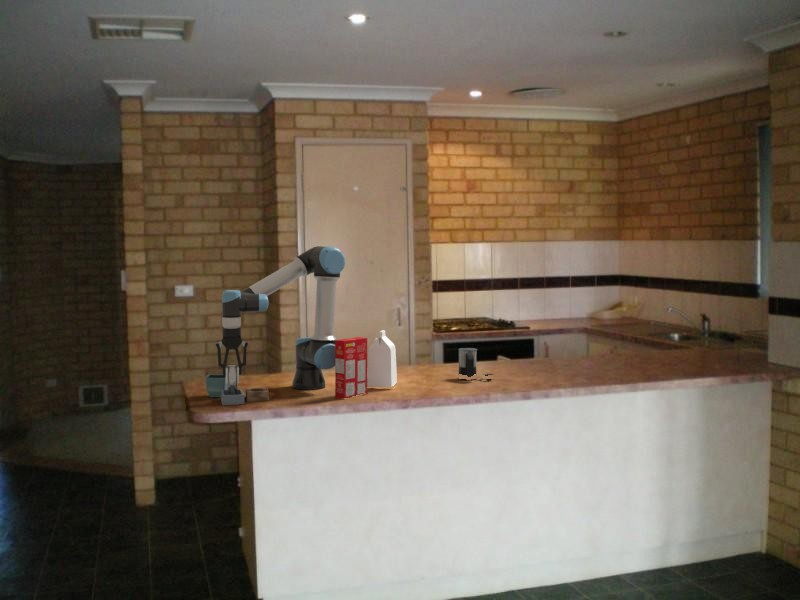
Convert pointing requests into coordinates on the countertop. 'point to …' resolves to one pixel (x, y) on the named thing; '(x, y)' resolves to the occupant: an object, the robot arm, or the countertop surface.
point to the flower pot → (215, 385)
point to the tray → (232, 398)
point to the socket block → (257, 394)
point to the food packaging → (350, 367)
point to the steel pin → (232, 379)
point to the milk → (382, 362)
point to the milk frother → (468, 361)
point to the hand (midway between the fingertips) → (232, 382)
